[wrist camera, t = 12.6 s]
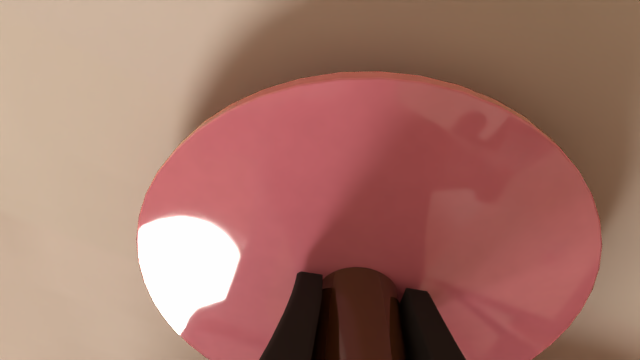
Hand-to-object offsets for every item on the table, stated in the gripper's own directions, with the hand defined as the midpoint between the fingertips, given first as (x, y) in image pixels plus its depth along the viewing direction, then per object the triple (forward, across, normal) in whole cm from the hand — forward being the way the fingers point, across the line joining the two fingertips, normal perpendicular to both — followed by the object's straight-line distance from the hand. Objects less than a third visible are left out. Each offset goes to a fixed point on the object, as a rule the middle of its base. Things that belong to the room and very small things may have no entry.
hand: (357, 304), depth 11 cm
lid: (+1, 0, 0) cm, 1 cm away
